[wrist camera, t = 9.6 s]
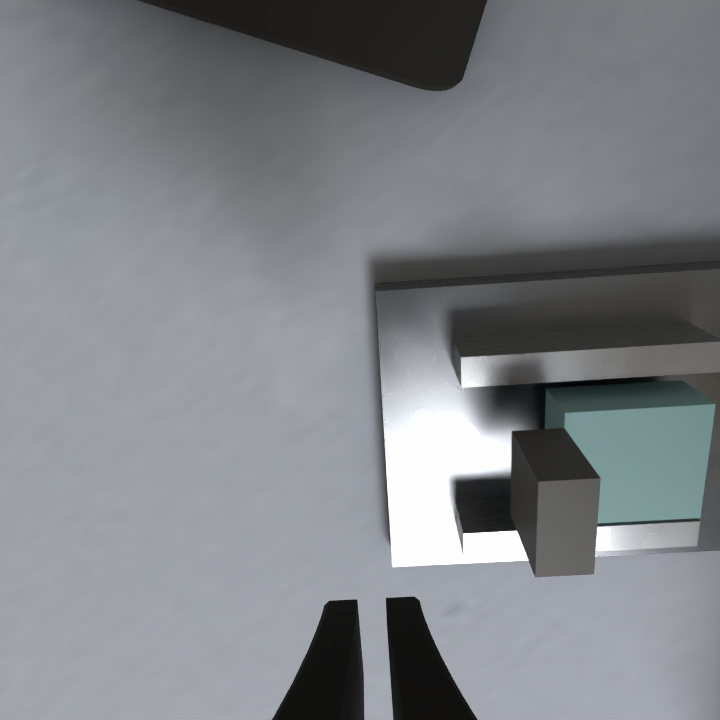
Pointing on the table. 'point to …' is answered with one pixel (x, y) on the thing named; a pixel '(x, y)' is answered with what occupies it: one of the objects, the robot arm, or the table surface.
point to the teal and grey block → (606, 467)
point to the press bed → (529, 394)
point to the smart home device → (358, 32)
